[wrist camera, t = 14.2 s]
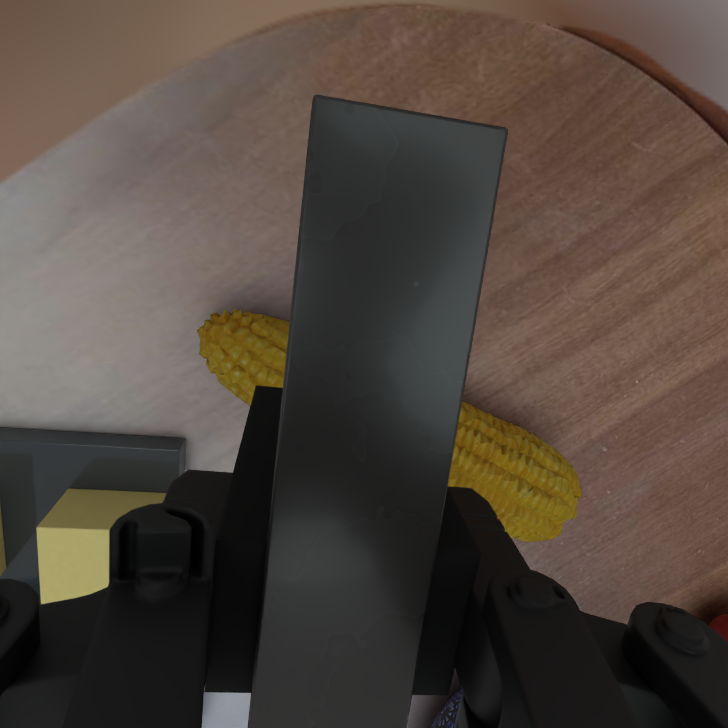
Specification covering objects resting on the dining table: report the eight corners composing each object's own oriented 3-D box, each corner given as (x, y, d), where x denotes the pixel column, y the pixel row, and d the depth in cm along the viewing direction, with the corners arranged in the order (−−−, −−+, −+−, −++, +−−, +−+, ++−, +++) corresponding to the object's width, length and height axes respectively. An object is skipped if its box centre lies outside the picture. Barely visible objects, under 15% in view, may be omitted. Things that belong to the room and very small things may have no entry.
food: (561, 436, 31) (618, 488, 26) (512, 513, 33) (556, 578, 27) (227, 276, 27) (206, 297, 21) (183, 373, 28) (153, 417, 22)
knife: (305, 176, 13) (313, 92, 6) (401, 191, 13) (510, 127, 6) (229, 912, 17) (184, 1342, 10) (303, 908, 18) (305, 1323, 11)
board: (-100, 420, 27) (-123, 433, 25) (185, 437, 29) (179, 450, 27) (-78, 586, 30) (-97, 605, 28) (181, 591, 32) (175, 609, 30)
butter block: (67, 487, 27) (35, 527, 24) (168, 492, 28) (150, 531, 25) (71, 569, 29) (41, 618, 25) (167, 572, 29) (150, 619, 26)
